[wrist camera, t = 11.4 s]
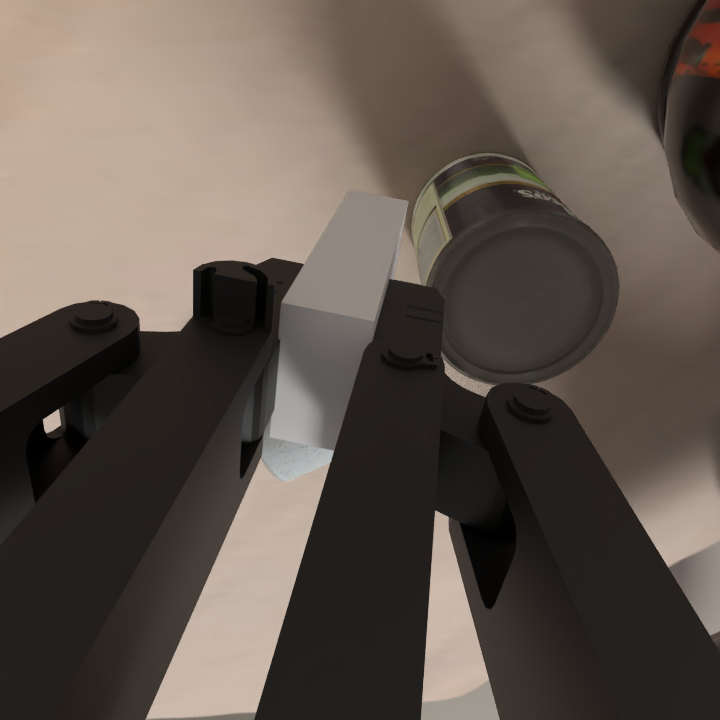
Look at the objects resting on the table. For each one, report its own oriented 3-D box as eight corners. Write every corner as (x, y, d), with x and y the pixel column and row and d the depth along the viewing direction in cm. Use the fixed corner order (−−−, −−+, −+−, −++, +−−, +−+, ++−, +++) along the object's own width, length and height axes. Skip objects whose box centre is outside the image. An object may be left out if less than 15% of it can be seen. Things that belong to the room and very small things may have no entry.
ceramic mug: (378, 410, 54) (379, 466, 47) (295, 443, 55) (284, 502, 49) (320, 308, 49) (312, 354, 42) (232, 348, 51) (210, 398, 44)
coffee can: (483, 118, 42) (531, 166, 30) (580, 219, 45) (659, 299, 33) (379, 229, 46) (384, 312, 33) (476, 314, 49) (512, 418, 37)
